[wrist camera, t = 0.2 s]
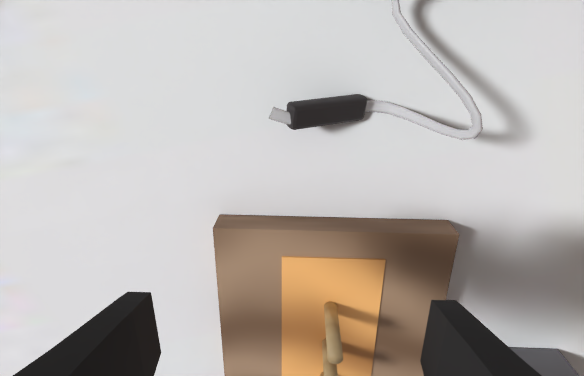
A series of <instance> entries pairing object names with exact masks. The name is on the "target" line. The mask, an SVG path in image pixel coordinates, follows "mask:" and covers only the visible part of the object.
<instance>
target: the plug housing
mask: <svg viewBox="0 0 584 376" xmlns="http://www.w3.org/2000/svg"><path fill="white" fill-rule="evenodd" d="M509 348H510V349H511V350H512V351H513V352H515V353H516V354H517V355H518V356H519V357H520V358H522V359H523V360H524V361H525V362H526V363H527V364H529V365H530V366H531V367H532V368H533V369H534V370H536V371H537V372H538V373H539V374H540V375H542V376H579V375H578V373H577V372H576V371H575V370H574V368H573V367H572V366H571V365H570V364H569V362H568V361H567V360H566V359H565V357H564V356H563V355H562V354H561V352H560V351H559V350H558V349H541V348H511V347H509Z"/></svg>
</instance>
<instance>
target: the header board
mask: <svg viewBox="0 0 584 376" xmlns="http://www.w3.org/2000/svg"><path fill="white" fill-rule="evenodd" d="M213 236H214V248H215V261H216V273H217V286H218V298H219V311H220V323H221V336H222V348H223V361H224V373H225V376H424V374H423V370H422V366H421V362H420V359H421V354H422V348H423V343H424V337H425V332H426V326H427V321H428V315H429V310H430V304H431V300H446V296H447V291H448V286H449V281H450V276H451V272H452V267H453V262H454V257H455V252H456V248H457V243H458V238H459V233H458V232H457V231H456V230H455V228H454V227H453V226H452V225H451V223H450V222H449V221H448V220H419V219H378V218H337V217H296V216H255V215H219V217H218V219H217V221H216V223H215V225H214V227H213Z"/></svg>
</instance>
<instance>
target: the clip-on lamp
mask: <svg viewBox="0 0 584 376" xmlns="http://www.w3.org/2000/svg"><path fill="white" fill-rule="evenodd" d="M391 2H392V15H393V17H394V18H395V20H396V22H397V23H398V25H399V27H400V29H401V30H402V32H403V34H404V35H405V36H406V37H407V38H408V39H409V41H410V42H411V43H412V44H413V45H414V46H415V48H416V49H417V50H418V51H419V52H420V54H421V55H422V56H423V57H424V58H425V59H426V60H427V61H428V62H429V63H430V64H431V65H432V67H433V68H434V69H435V70H436V71H437V72H438V73H439V74H440V75H441V76H442V77H443V79H444V80H445V81H446V82H447V83H448V84H449V85H450V87H451V88H452V89H453V90H454V91H455V92H456V94H457V95H458V96H459V97H460V99H461V100H462V102H463V103H464V105H465V107H466V108H467V110H468V111H469V113H470V116H471V120H472V126H471V128H470V129H469V130H460V129H455V128H452V127H449V126H446V125H444V124H441V123H438V122H436V121H434V120H432V119H429V118H427V117H425V116H423V115H420V114H418V113H416V112H413V111H411V110H409V109H407V108H404V107H401V106H398V105H395V104H392V103H389V102H383V101H375V100H369V101H367V99H366V98H365V97H364V96H362V95H360V94H355V95H346V96H337V97H329V98H320V99H311V100H303V101H294V102H289V103H288V104H287V111H284V110H281V109H278V108H275V107H273V109H272V112H271V114H270V117H269V119H271V120H275V121H278V122H281V123H285V124H287V126H288V127H289V128H291V129H293V130H296V129H303V128H310V127H316V126H323V125H330V124H337V123H343V122H350V121H357V120H361V119H363V117H364V113H365V112H370V111H373V112H382V113H388V114H391V115H394V116H398V117H401V118H404V119H406V120H409V121H411V122H414V123H416V124H418V125H421V126H423V127H426V128H428V129H431V130H433V131H436V132H438V133H441V134H443V135H446V136H450V137H454V138H457V139H461V140H462V139H472V138H476V137H477V136H478V134H479V133H480V132H481V131H482V129H483V127H482V118H481V113H480V112H479V110H478V108H477V106H476V104H475V102H474V101H473V99H472V97H471V95H470V94H469V93H468V92H467V90H466V89H465V88H464V87H463V86H462V84H461V83H460V82H459V81H458V80H457V78H456V77H455V76H454V75H453V74H452V72H451V71H450V70H449V69H448V68H447V67H446V66H445V65H444V64H443V63H442V62H441V61H440V60H439V59H438V58H437V57H436V55H435V54H434V53H433V52H432V51H431V50H430V49H429V48H428V47H427V46H426V45H425V43H424V42H423V41H422V40H421V39H420V38H419V37H418V36H417V35H416V34H415V32H414V31H413V30H412V29H411V27H410V26H409V24H408V23H407V21H406V20H405V18H404V17H403V16H402V14H401V11H400V5H399V0H391Z"/></svg>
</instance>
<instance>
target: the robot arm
mask: <svg viewBox="0 0 584 376" xmlns="http://www.w3.org/2000/svg"><path fill="white" fill-rule="evenodd" d="M160 354H161V349H160V343H159V338H158V332H157V326H156V320H155V314H154V308H153V302H152V296H151V293H150V292H127V293H126V294H124V295H123V296H121V297H120V298H118V299H117V300H116V301H114V302H113V303H112V304H110V305H109V306H108V307H106V308H105V309H104V310H102V311H101V312H100V313H98V314H97V315H96V316H95V317H93V318H92V319H91V320H89V321H88V322H87V323H85V324H84V325H83V326H81V327H80V328H79V329H77V330H76V331H75V332H73V333H72V334H71V335H69V336H68V337H67V338H65V339H64V340H63V341H61V342H60V343H59V344H57V345H56V346H55V347H53V348H52V349H51V350H49V351H48V352H46V353H45V354H43V355H42V356H41V357H39V358H38V359H36V360H35V361H33V362H32V363H31V364H29V365H28V366H26V367H25V368H23V369H22V370H20V371H19V372H18V373H16V374H15V375H13V376H154V373H155V370H156V367H157V364H158V361H159V358H160ZM420 362H421V366H422V370H423V374H424V376H542V375H540V374H539V373H538V372H537V371H536V370H534V369H533V368H532V367H531V366H530V365H529V364H527V363H526V362H525V361H524V360H523V359H522V358H520V357H519V356H518V355H517V354H516V353H515V352H513V351H512V350H511V349H510V348H509V347H508V346H507V345H505V344H504V343H503V342H502V341H501V340H500V339H499V338H498V337H496V336H495V335H494V334H493V333H492V332H491V331H490V330H489V329H488V328H486V327H485V326H484V325H483V324H482V323H481V322H480V321H479V320H478V319H476V318H475V317H474V316H473V315H472V314H471V313H470V312H469V311H467V310H466V309H465V308H464V307H463V306H462V305H461V304H459V303H458V302H457V301H456V300H431V304H430V310H429V315H428V321H427V326H426V332H425V337H424V343H423V348H422V354H421V359H420Z"/></svg>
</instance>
